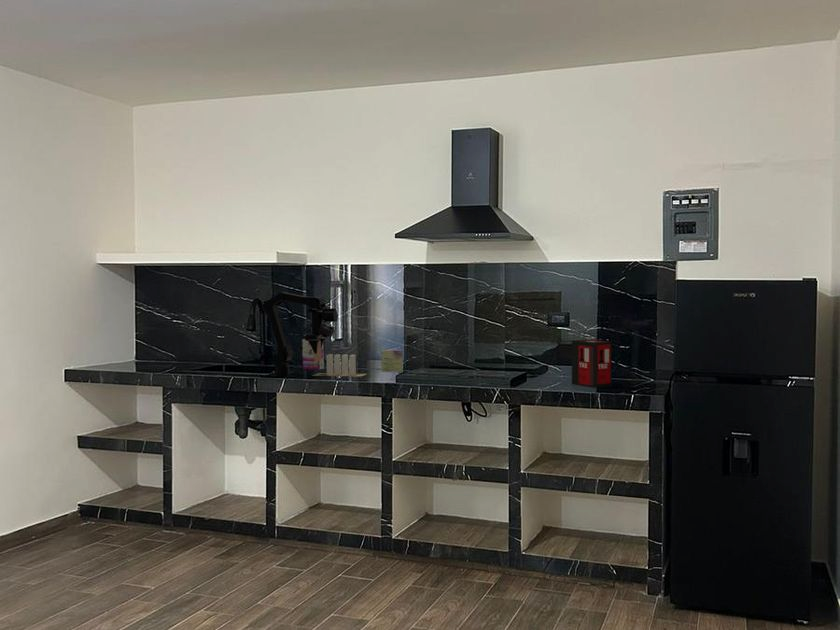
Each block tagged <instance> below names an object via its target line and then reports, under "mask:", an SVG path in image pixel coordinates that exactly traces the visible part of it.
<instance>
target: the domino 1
mask: <svg viewBox="0 0 840 630" xmlns="http://www.w3.org/2000/svg"><path fill="white" fill-rule="evenodd" d="M314 360H315V362H318V361H321V341H319V342H318V348H317V354H315V353H314Z"/></svg>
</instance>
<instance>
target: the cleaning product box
mask: <svg viewBox="0 0 840 630" xmlns="http://www.w3.org/2000/svg"><path fill="white" fill-rule="evenodd" d="M612 344H613V343H612V341H605V340H597V339H596V340H595V339H575V340H574V339H573V340H571V384H572V385H575V386H581V387H587V388H588V387H589V388H594V389H601V388H612V386H613V385H612V384H613V381H612V379H613V377H612V376H613V375H612V372H613V371H612V369H613V367H612V365H613V364H612V363H613V360H612V359H613V358H612V357H613V356H612V355H613V354H612V353H613V345H612Z"/></svg>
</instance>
